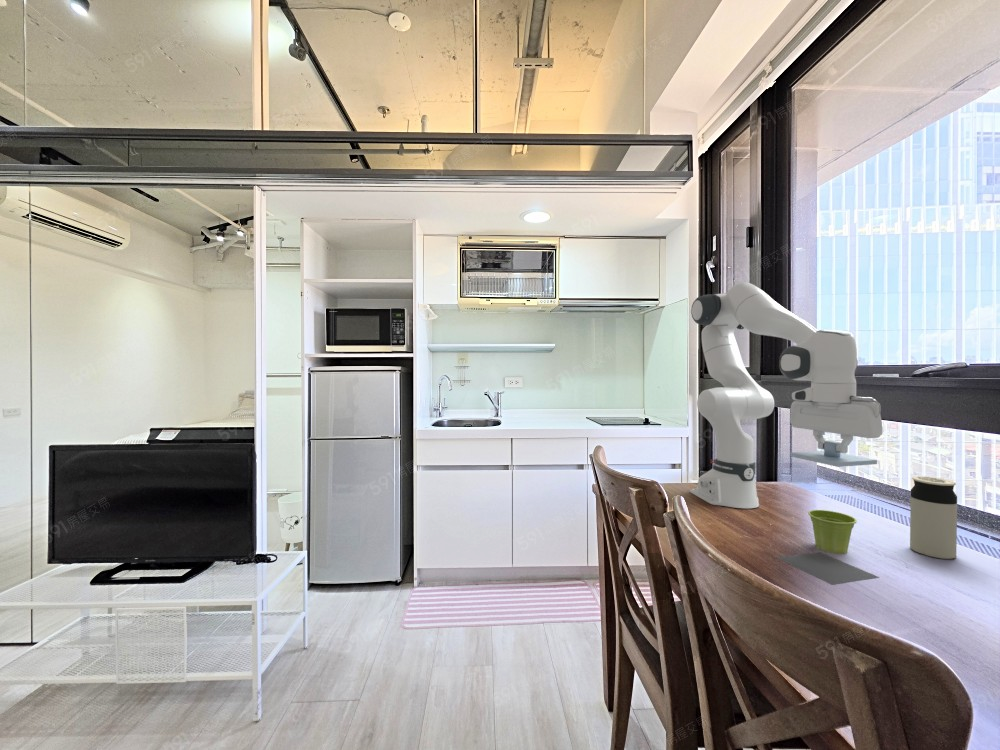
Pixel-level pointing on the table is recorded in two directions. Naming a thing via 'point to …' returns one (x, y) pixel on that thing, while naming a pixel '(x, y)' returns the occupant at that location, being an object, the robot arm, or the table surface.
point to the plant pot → (832, 530)
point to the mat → (827, 568)
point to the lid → (833, 456)
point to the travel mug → (933, 517)
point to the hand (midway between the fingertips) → (832, 450)
